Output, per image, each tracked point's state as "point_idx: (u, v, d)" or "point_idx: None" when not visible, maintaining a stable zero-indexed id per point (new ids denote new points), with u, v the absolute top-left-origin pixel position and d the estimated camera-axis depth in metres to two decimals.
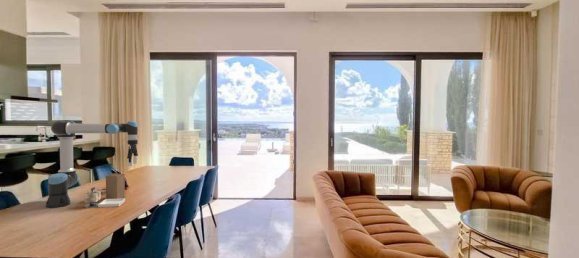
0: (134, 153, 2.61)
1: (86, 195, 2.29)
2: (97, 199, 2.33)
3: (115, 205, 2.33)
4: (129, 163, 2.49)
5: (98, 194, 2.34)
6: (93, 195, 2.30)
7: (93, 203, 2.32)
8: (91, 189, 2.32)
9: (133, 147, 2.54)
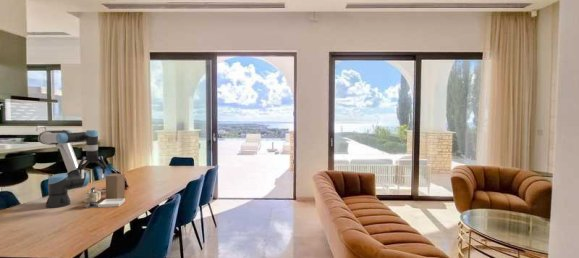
0: None
1: (86, 195, 2.29)
2: (97, 199, 2.33)
3: (115, 205, 2.33)
4: None
5: (98, 194, 2.34)
6: (93, 195, 2.30)
7: (93, 203, 2.32)
8: (91, 189, 2.32)
9: None
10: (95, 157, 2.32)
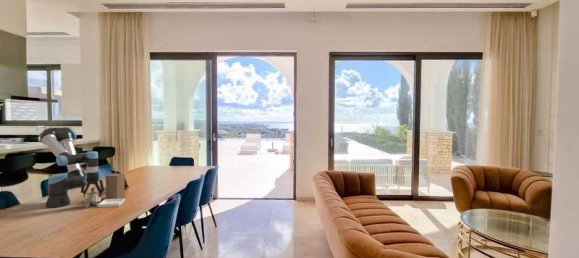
0: None
1: (86, 195, 2.29)
2: (97, 199, 2.33)
3: (115, 205, 2.33)
4: None
5: None
6: (93, 195, 2.30)
7: (93, 203, 2.32)
8: (91, 189, 2.32)
9: None
10: (95, 178, 2.32)
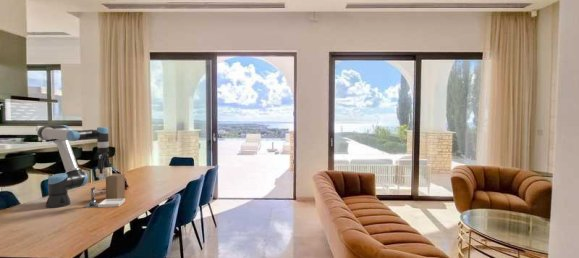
0: (105, 163, 2.38)
1: (108, 169, 2.33)
2: None
3: (115, 205, 2.33)
4: (100, 174, 2.30)
5: None
6: (110, 168, 2.38)
7: (93, 203, 2.32)
8: (91, 189, 2.32)
9: (104, 156, 2.33)
10: (106, 153, 2.37)
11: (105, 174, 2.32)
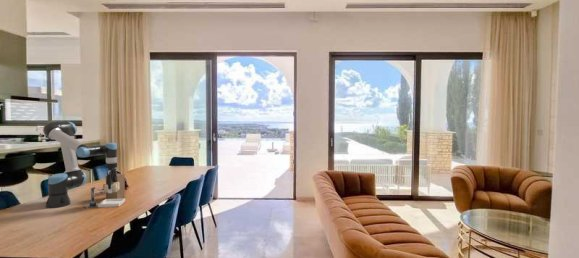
0: (113, 178, 2.42)
1: (116, 184, 2.36)
2: None
3: (115, 205, 2.33)
4: (109, 190, 2.34)
5: None
6: (118, 183, 2.41)
7: (93, 203, 2.32)
8: (91, 189, 2.32)
9: (112, 171, 2.36)
10: (114, 168, 2.41)
11: (113, 189, 2.35)
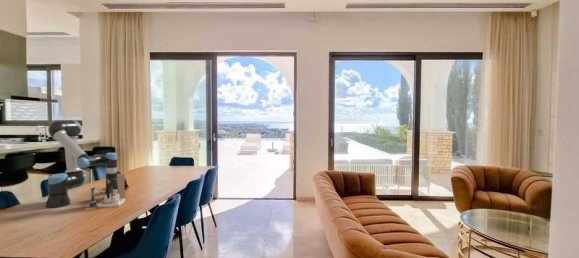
0: (114, 186, 2.44)
1: (116, 197, 2.37)
2: None
3: (115, 205, 2.33)
4: (107, 199, 2.32)
5: None
6: (118, 195, 2.42)
7: (93, 203, 2.32)
8: (91, 189, 2.32)
9: (112, 181, 2.36)
10: (114, 178, 2.41)
11: (113, 202, 2.35)
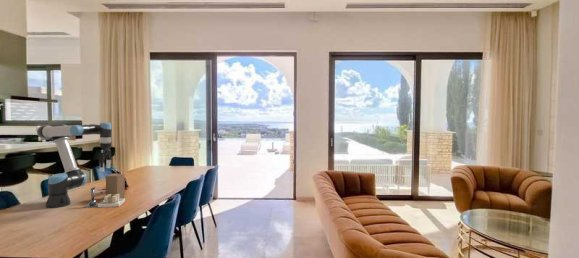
0: (107, 157, 2.42)
1: (116, 197, 2.37)
2: None
3: (115, 205, 2.33)
4: (101, 168, 2.30)
5: None
6: (118, 195, 2.42)
7: (93, 203, 2.32)
8: (91, 189, 2.32)
9: (106, 151, 2.35)
10: (108, 149, 2.39)
11: (113, 202, 2.35)
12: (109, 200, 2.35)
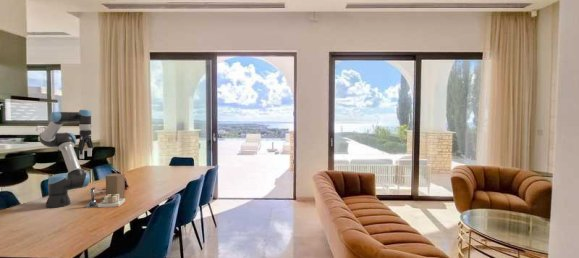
0: (88, 145, 2.40)
1: (116, 197, 2.37)
2: None
3: (115, 205, 2.33)
4: (80, 155, 2.28)
5: None
6: (118, 195, 2.42)
7: (93, 203, 2.32)
8: (91, 189, 2.32)
9: (86, 138, 2.32)
10: (88, 136, 2.37)
11: (113, 202, 2.35)
12: (109, 200, 2.35)
